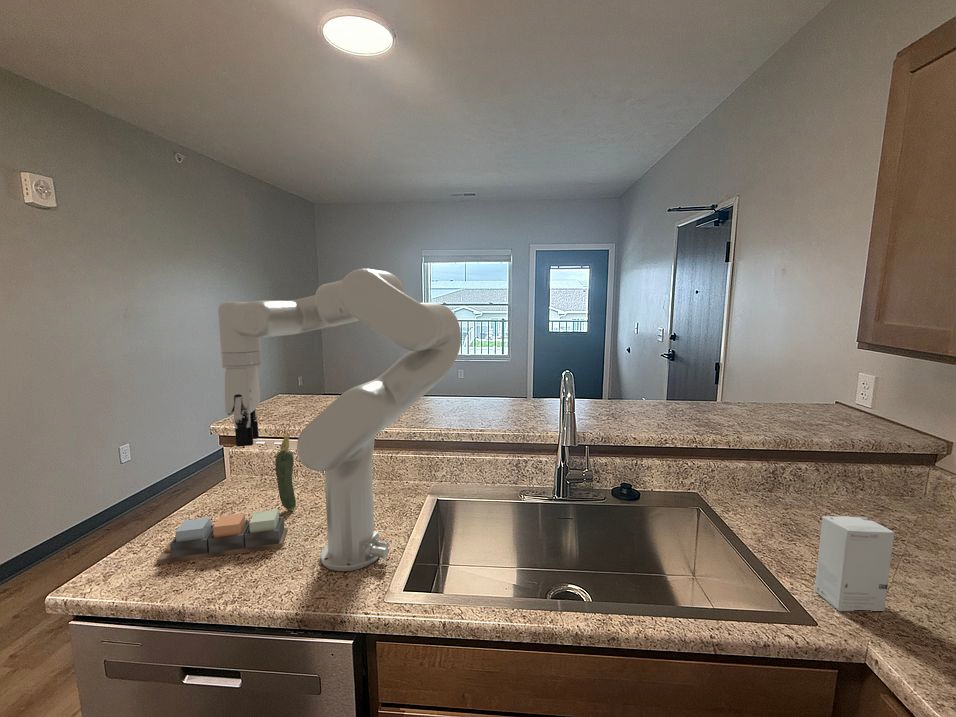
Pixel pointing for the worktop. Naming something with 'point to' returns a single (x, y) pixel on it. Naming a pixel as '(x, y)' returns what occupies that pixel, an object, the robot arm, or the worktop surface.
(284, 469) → the vegetable
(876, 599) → the skincare box
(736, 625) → the worktop surface
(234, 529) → the terracotta key
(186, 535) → the slate key
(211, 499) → the worktop surface
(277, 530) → the gray compartment tray
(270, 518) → the sage key
